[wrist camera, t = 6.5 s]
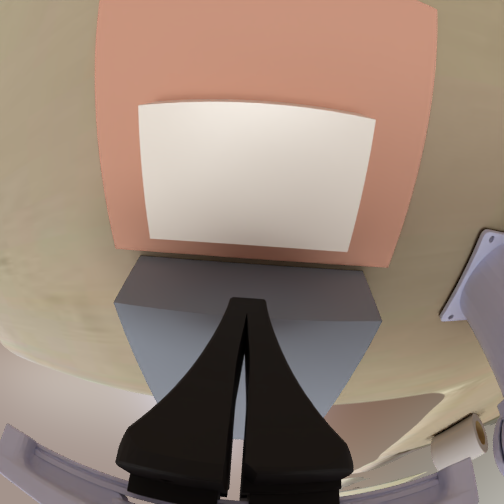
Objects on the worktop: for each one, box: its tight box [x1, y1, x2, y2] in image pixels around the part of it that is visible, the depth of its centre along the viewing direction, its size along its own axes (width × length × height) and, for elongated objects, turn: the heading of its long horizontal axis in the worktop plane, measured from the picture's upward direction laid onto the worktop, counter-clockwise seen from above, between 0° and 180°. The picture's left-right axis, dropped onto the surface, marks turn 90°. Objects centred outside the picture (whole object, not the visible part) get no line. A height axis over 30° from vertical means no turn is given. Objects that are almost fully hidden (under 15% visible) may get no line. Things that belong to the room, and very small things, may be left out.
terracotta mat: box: [95, 0, 437, 268], centre depth 11 cm, size 16×15×1 cm
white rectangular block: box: [138, 99, 376, 252], centre depth 11 cm, size 9×6×2 cm, turn 87°
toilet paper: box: [431, 413, 488, 471], centre depth 33 cm, size 10×10×10 cm
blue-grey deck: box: [114, 256, 382, 440], centre depth 19 cm, size 13×18×4 cm
